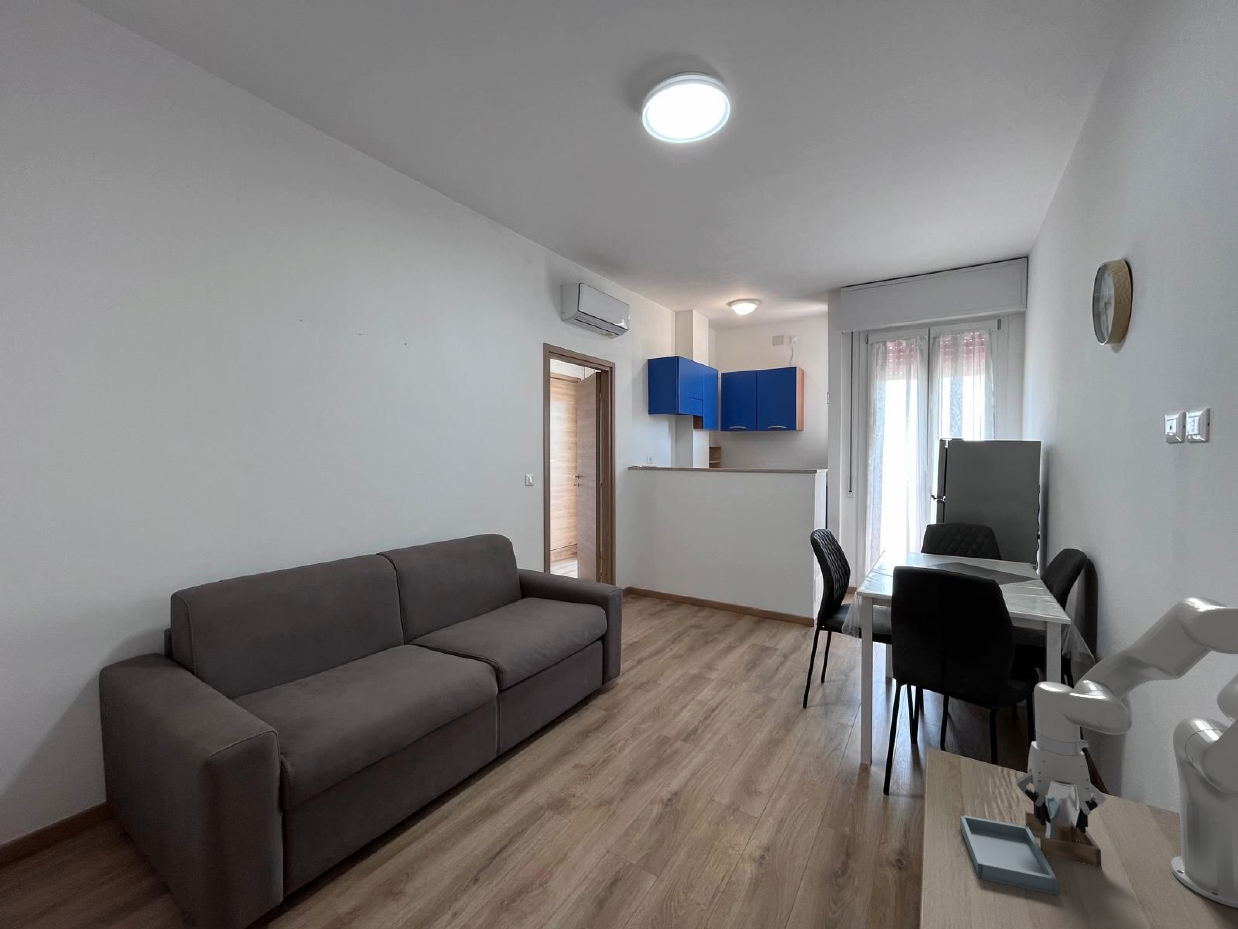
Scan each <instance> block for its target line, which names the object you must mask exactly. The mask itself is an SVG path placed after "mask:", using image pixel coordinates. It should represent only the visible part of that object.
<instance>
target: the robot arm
mask: <svg viewBox="0 0 1238 929" xmlns="http://www.w3.org/2000/svg"><path fill="white" fill-rule="evenodd" d="M1211 652H1216V653H1220V654H1225V655H1226V654H1227V655H1238V606H1228V605H1225V604H1224V603H1221V602H1219V601H1216V600H1214V599H1211V598H1207V597H1202V596H1188V597H1185V598H1183V599H1181V600H1179V601H1178V602H1177V603H1175V604H1174V605H1173V606H1172V607H1171V608H1170V609H1168V610H1167V612H1165V613H1164V614H1163V615H1162V616H1161V617H1160V618H1159V619H1158V620H1157V621H1155V622H1154V623H1153V624H1152V625H1151V626H1150V627H1149V628H1148V629H1147V630H1146V631H1145V632H1143V633H1142V634H1141V636H1140V637H1138V638H1137V639H1136V640H1135V641H1134V642H1132V643H1131V645H1129V646H1127V647H1125V648H1122V649H1119V650H1118V651H1117V652H1114V653H1112V654H1110V655H1108V656H1106V657H1105V658H1103V659H1101V660H1100V661H1099V662H1097V663H1095V664H1094V665H1093V667H1092V668H1090V669H1089V670H1088V671H1087V672H1086V673H1085V674H1084V675H1083V676H1082V677H1081V678H1080V679H1079V680H1078V681H1077V682H1076V684H1074V685H1075V686H1074V688H1072V687H1070V686H1069V685H1066V684H1063V683H1060V682H1054V681H1040V682H1038V683H1037V684H1035V687H1034V692H1033V693H1034V695H1033V696H1034V715H1035V716H1034V721H1035V741H1031V744H1030V748H1029V753H1028V759H1027V760H1028V761H1027V762H1028V764H1027V773H1025V774H1024V775H1022V776H1020V777H1019V778H1017V779H1016V780H1014V782H1015V784H1016V786H1017V787H1018V788H1019V790H1021V792H1023V793H1024V794H1025V795H1026V796H1027V798H1028V799H1029V800H1030V801H1032V802H1033V803H1032V804H1033V812H1034V816H1035V818H1037V819H1038V820H1039V822H1040V824H1041V825H1042V826H1045V825H1046V823H1045V808H1044V807H1043V802H1044V795H1045V796H1047V794H1048V790H1049V787H1050V782H1051V780H1052V781H1055V782H1058V783H1062V784H1077V790H1078V794H1079V798H1080V801H1081V811H1080V817H1079V822H1078V828H1079V829H1080V831H1081V832H1082V833H1086V830H1087V828H1089V815H1090V814H1091V812H1092V811H1094V810H1095V809H1096V808H1098V807H1099V805H1101V804H1102V803H1104V802H1105V801H1106V800H1107V797H1106V796H1105V795H1104V794H1103V793H1102V792H1101V791H1100V790H1099V789H1098V788H1097V787H1095V785H1093V784H1092V783H1091V777H1090V772H1089V768H1088V767H1089V766H1088V762H1087V759H1086V756H1085V755H1086V754H1085V753H1084V752H1083V748H1087V749H1088V748H1089V746H1090V745H1089V742H1088V741H1087V740H1084V739H1081V728H1080V727H1082V728H1085V729H1089V730H1092V731H1095V732H1099V733H1102V734H1105V735H1115V736H1116V735H1122V734H1125V733H1128V731H1130V729H1131V728H1132V725H1133V719H1132V715H1131V713H1130V711H1129V709H1128V708H1127V707H1126V706H1125V704H1124V703H1123V701H1122V700H1123V699H1124V698H1125V697H1126V696H1127V695H1128V694H1130V693H1131V692H1132V691H1134V689H1136V688H1138V687H1139V686H1141V685H1143V684H1146V683H1149V682H1151V681H1172V680H1178V679H1181V678H1182V677H1184V676H1185V675H1186V674H1187V673H1188V672H1189V671H1190V670H1192V669H1193V668H1194V667H1195V666H1196V665H1198V663H1199V662H1201V661H1202V660H1203V659H1204V658H1205V657H1206V656H1208V655H1209V653H1211ZM1216 703H1217V705H1218V709H1219V710H1220V711H1221V713H1222V714H1223V716H1225V717H1226V718H1227V719H1228V720H1229V721H1230V722H1232V724H1231V725H1230V726H1227V725H1226V724H1224V723H1221V722H1220V721H1218V720H1215V719H1212V718H1209V717H1204V716H1192V717H1187V718H1184V719H1183V720H1181V721H1180V722H1179V723H1177V725H1176V726H1175V728H1174V730H1173V734H1172V744H1173V745H1172V746H1173V751H1174V757H1175V761H1176V767H1177V777H1178V800H1179V805H1178V806H1179V828H1180V831H1179V832H1180V834H1179V835H1180V852H1181V853H1180V856H1175V857H1173V858H1172V859H1171V860H1170V868H1171V872H1172V874H1173V875H1174V877H1176V878H1177V879H1178V880H1179V881H1180V882H1181V883H1182V884H1184V885H1185V886H1186V887H1188V888H1189V889H1190V890H1192V891H1193V892H1196V893H1198V894H1199V895H1201V896H1203V897H1205V898H1207V899H1210V900H1211V901H1214V902H1217V903H1219V904H1222V905H1225V906H1228V907H1232V908H1234V909H1235V908H1236V909H1238V673H1236V674H1235V676H1233V677H1232V679H1231V680H1229V682H1227V683H1226V685H1225V686H1223V687H1222V689H1221V690H1220V691H1219V693H1218V694H1217V697H1216ZM1030 784H1032V785H1033V790H1031V789H1030V788H1029V787H1028V785H1030Z"/></svg>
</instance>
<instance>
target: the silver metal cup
mask: <svg viewBox="0 0 1238 929" xmlns="http://www.w3.org/2000/svg"><path fill="white" fill-rule="evenodd" d="M1043 807H1044V808H1045V823H1046V828H1045V831H1044V835H1043V837H1045V838H1050V839H1056V840H1061V841H1067V842H1072V843H1078V844H1079V839H1078V838H1077V827H1078V822H1079V817H1080V811H1081V801H1080V798H1079V794H1078V790H1077V784H1062V783H1058V782H1055V781H1052V780H1051V782H1050V787H1049V790H1048V794H1047V796H1045V795H1044V802H1043Z"/></svg>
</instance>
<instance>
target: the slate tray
mask: <svg viewBox="0 0 1238 929" xmlns="http://www.w3.org/2000/svg"><path fill="white" fill-rule="evenodd" d="M959 826H960V831H961V833H962V836H963V840H964V842H965V845H966V847H967V850H968V853H969V856H970V858H971V861H972V864H973V866H974V869H975V873H976V875H977V878H978V879H980V880H986V881H990V882H995V883H999V884H1004V885H1009V886H1013V887H1017V888H1018V887H1019V888H1022V889H1025V890H1026V889H1027V890H1031V891H1036V892H1040V893H1045V894H1051V895H1054V896H1059V894H1058V893H1059V887H1058V882H1059V881H1058V878H1057V877H1056V874H1055V872H1054V871H1053V869H1052V867H1051V866H1050V864H1049V861H1048V859H1047V858H1046V856H1044V854H1043V853H1042V851H1041V849H1040V845H1039V844H1038V842H1037V840H1036V838H1035V836H1034V835H1033V832H1032V830H1031V829H1030V828H1029V827H1026V825H1021V824H1020V825H1019V824H1015V823H1010V822H1009V823H1008V822H1003V821H998V820H991V819H988V818H980V817H975V816H970V815H965V814H959Z"/></svg>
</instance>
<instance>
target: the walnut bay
mask: <svg viewBox="0 0 1238 929" xmlns="http://www.w3.org/2000/svg"><path fill="white" fill-rule="evenodd" d="M1024 812H1025V814H1024V815H1025V826H1026V827H1029V829H1030V830H1036V831H1042V832H1045V828H1046V825H1045V826H1042V825H1041V824H1040V822H1039V820H1038V819H1037V818H1035V816H1034V811H1031V810H1024ZM1077 840H1078V841H1079V840H1080V841H1079V842H1080V843H1079V842H1078V843H1072V842H1067V841H1061V840H1056V839H1050V838H1045V837H1044V836H1040V837H1039V841H1040V842H1039V844H1040V845H1039V847H1040V849H1041V851H1042V853H1043V854H1044V856H1045V857H1048V858H1054V859H1058V860H1064V861H1068V862H1073V863H1077V862H1078V864H1082V863H1085V864H1084V865H1088V864H1089V865H1088V866H1093V865H1095V866H1094V867H1098V866H1101V867H1102V852H1101V851H1102V849H1101V848H1100V846H1098V844H1097V842H1096V841H1095V839H1094V838H1093V836H1092V835H1091V834H1090V832H1089V831H1088V830H1087V829H1086V833H1082V832H1081V831H1080V829H1079V828H1078V827H1077ZM1081 843H1082V844H1081ZM1079 862H1080V863H1079Z"/></svg>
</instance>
